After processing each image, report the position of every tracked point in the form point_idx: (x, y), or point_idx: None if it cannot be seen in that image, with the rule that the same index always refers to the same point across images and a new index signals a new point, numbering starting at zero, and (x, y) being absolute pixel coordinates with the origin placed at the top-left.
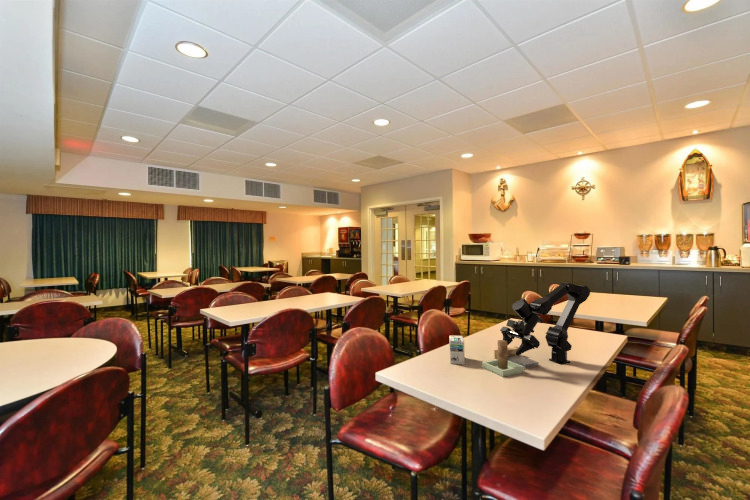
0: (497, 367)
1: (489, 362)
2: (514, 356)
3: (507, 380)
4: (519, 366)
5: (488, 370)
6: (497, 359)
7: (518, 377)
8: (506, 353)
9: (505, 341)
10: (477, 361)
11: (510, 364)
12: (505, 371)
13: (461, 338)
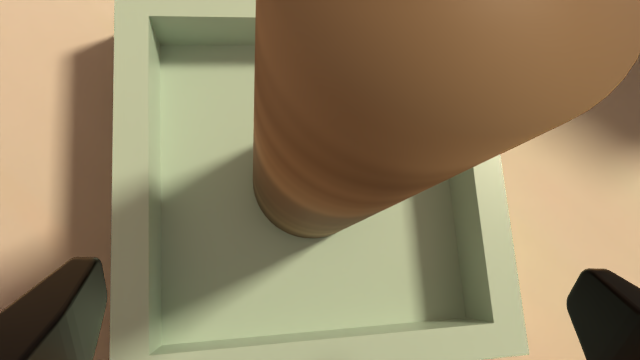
0: None
1: None
2: None
3: (36, 4)
4: (146, 332)
5: None
6: (508, 243)
7: (40, 181)
8: (256, 123)
9: (392, 21)
10: (631, 116)
11: (340, 332)
12: (118, 37)
13: None
